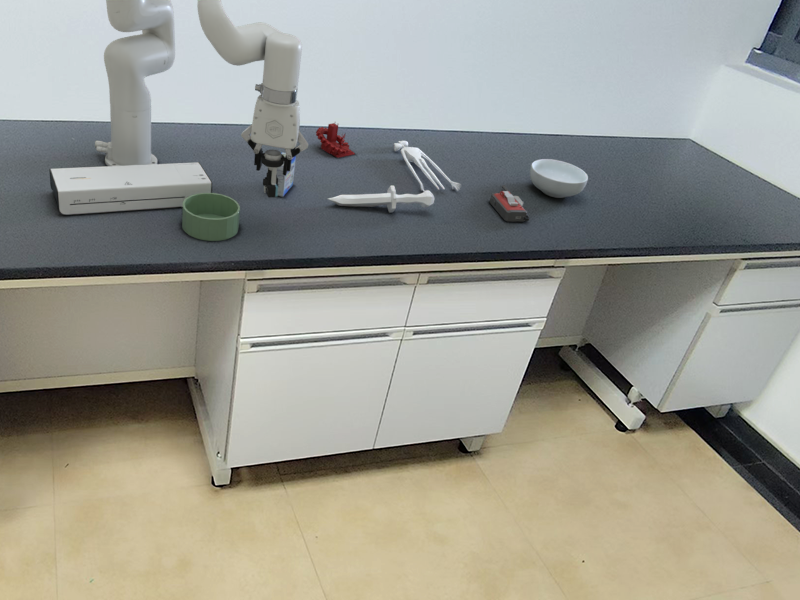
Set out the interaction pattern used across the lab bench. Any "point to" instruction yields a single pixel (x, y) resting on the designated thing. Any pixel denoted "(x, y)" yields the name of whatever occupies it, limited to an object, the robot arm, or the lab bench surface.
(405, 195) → the dagger
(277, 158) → the push button
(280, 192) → the medicine box
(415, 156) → the alien
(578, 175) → the cereal bowl
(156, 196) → the laminator
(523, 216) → the walkie-talkie
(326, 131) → the diorama
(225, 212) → the green round bowl
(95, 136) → the lab bench surface
